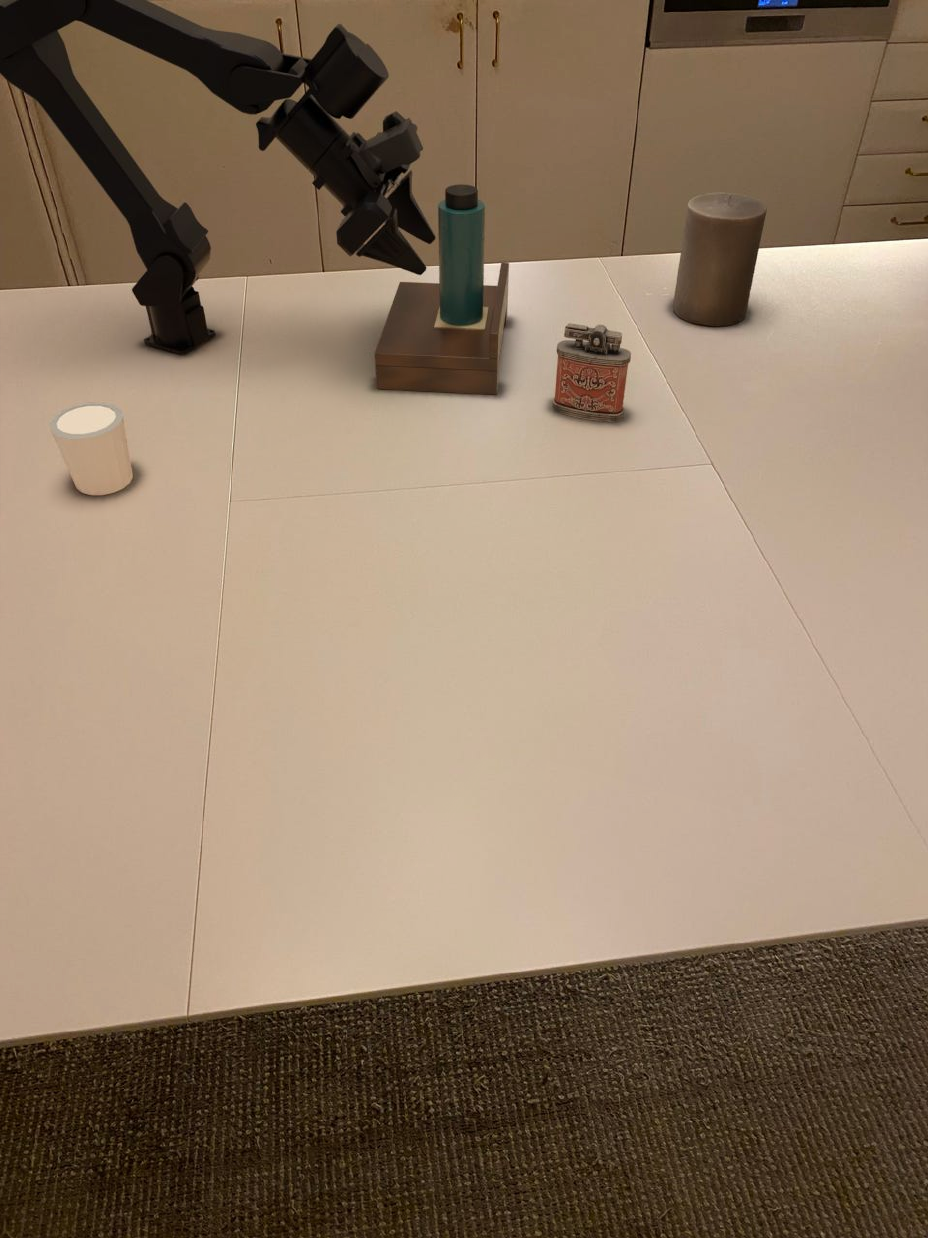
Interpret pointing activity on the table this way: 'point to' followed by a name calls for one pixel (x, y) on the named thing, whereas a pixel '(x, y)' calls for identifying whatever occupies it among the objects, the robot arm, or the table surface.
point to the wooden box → (441, 342)
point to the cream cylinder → (94, 447)
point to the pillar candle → (718, 258)
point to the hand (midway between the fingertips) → (428, 255)
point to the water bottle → (461, 255)
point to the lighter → (591, 373)
